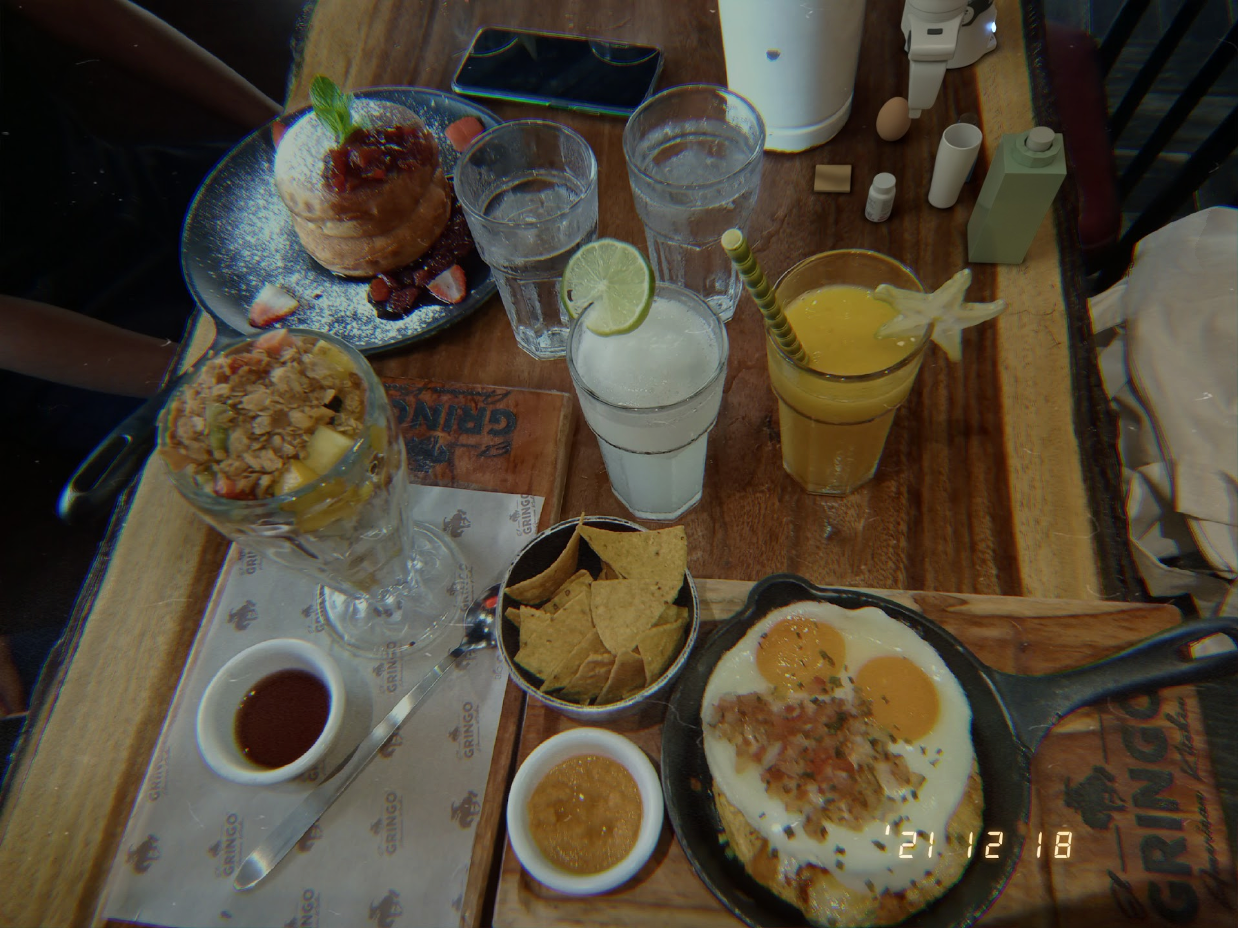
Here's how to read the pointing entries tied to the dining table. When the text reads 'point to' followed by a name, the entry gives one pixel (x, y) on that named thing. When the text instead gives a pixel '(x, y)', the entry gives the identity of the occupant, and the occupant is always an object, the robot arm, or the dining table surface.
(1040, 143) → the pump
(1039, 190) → the dispenser
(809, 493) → the dining table surface
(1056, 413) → the dining table surface
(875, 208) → the pill bottle
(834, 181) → the mat
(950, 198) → the drinking glass
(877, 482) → the dining table surface
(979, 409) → the dining table surface
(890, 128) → the egg
